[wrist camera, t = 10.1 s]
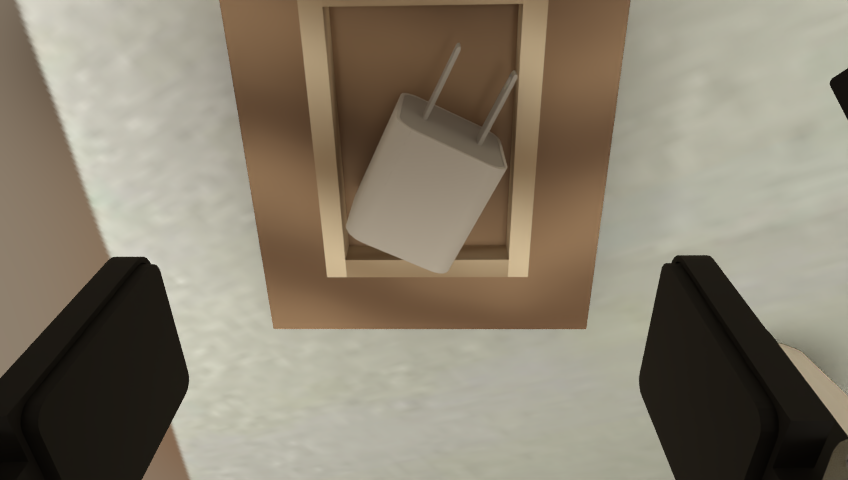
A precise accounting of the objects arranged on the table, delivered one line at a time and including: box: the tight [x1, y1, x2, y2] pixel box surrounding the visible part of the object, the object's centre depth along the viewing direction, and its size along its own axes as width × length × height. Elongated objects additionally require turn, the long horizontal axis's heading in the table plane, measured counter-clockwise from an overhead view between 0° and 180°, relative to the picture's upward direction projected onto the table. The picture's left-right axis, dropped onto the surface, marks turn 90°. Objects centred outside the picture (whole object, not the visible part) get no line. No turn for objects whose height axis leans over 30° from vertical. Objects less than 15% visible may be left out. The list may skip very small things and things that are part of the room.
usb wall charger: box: [346, 43, 518, 273], centre depth 21 cm, size 4×7×4 cm, turn 155°
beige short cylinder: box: [778, 343, 848, 435], centre depth 27 cm, size 7×7×7 cm
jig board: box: [219, 0, 630, 329], centre depth 23 cm, size 18×14×2 cm
